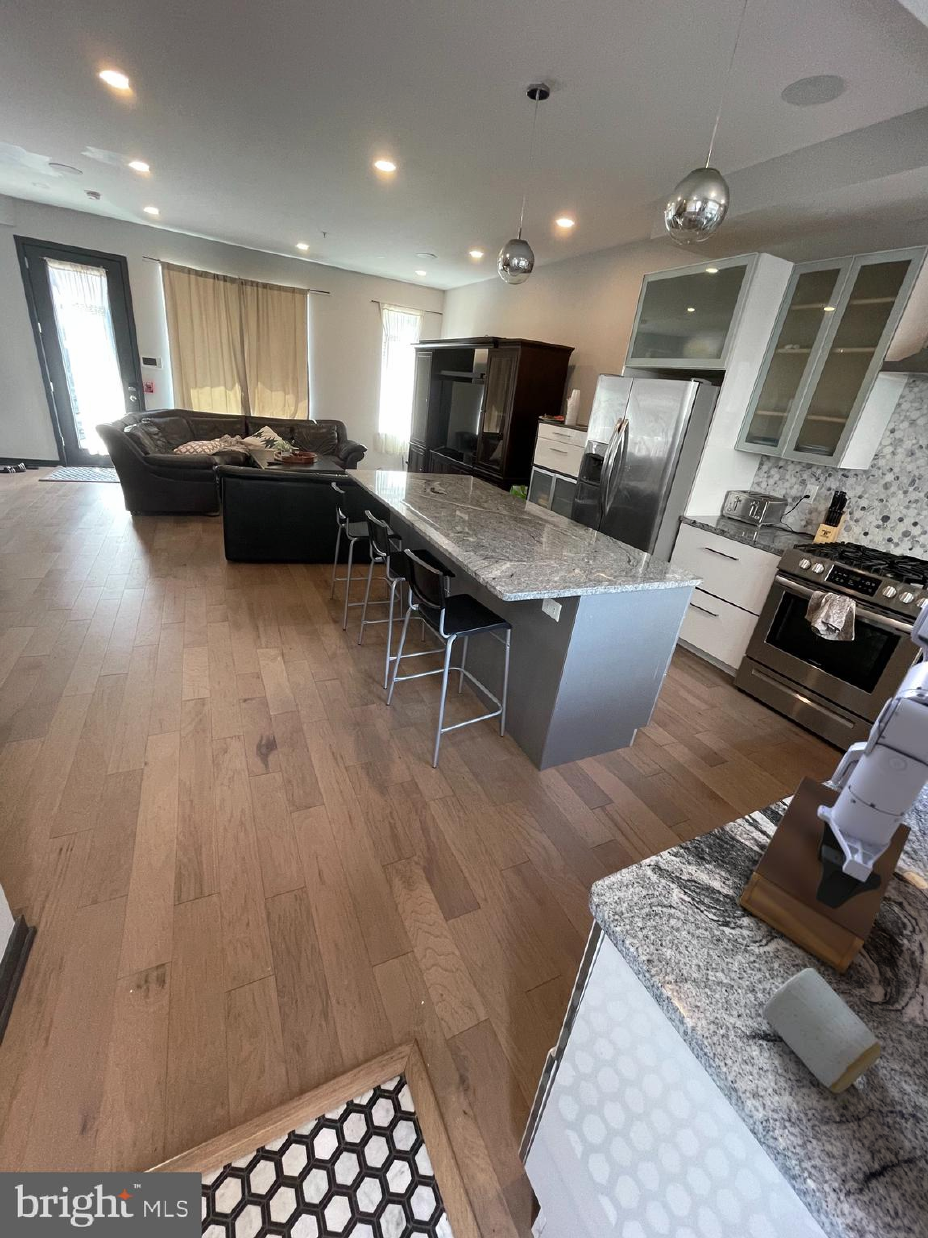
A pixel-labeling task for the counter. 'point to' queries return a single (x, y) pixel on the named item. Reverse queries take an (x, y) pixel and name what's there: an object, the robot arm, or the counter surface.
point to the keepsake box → (801, 923)
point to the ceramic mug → (822, 1030)
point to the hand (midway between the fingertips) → (825, 882)
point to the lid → (800, 870)
